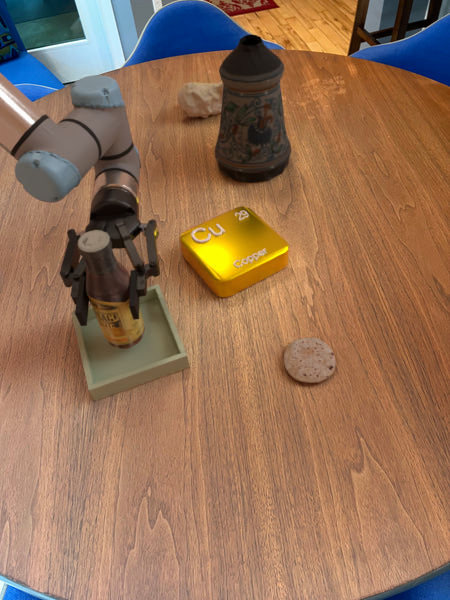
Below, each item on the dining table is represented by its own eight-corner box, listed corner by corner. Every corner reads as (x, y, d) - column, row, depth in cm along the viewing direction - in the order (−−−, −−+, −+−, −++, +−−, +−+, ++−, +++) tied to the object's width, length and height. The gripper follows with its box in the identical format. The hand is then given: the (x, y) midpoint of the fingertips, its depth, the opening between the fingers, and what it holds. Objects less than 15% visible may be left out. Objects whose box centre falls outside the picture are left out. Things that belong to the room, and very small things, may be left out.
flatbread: (334, 387, 68) (335, 384, 67) (281, 381, 69) (281, 377, 68) (335, 341, 73) (336, 337, 72) (286, 336, 74) (286, 332, 73)
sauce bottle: (98, 340, 73) (52, 244, 58) (125, 313, 77) (89, 216, 61) (129, 359, 71) (90, 264, 56) (156, 330, 74) (126, 233, 59)
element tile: (220, 302, 80) (218, 283, 76) (178, 251, 88) (174, 232, 85) (293, 265, 84) (294, 244, 81) (245, 220, 93) (245, 200, 89)
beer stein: (234, 192, 99) (227, 70, 80) (199, 148, 111) (185, 32, 92) (304, 169, 103) (313, 47, 84) (263, 128, 115) (262, 13, 96)
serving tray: (76, 323, 79) (71, 311, 77) (161, 295, 82) (158, 283, 79) (94, 401, 69) (88, 390, 67) (190, 367, 72) (187, 355, 70)
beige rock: (169, 125, 122) (192, 106, 109) (166, 96, 122) (188, 72, 108) (222, 127, 129) (250, 108, 116) (219, 99, 129) (247, 77, 115)
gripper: (178, 216, 80) (185, 324, 65) (63, 230, 80) (43, 342, 65) (171, 179, 74) (177, 287, 59) (47, 193, 74) (22, 306, 59)
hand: (107, 316), depth 62 cm, fingers closed on sauce bottle, 6 cm apart
